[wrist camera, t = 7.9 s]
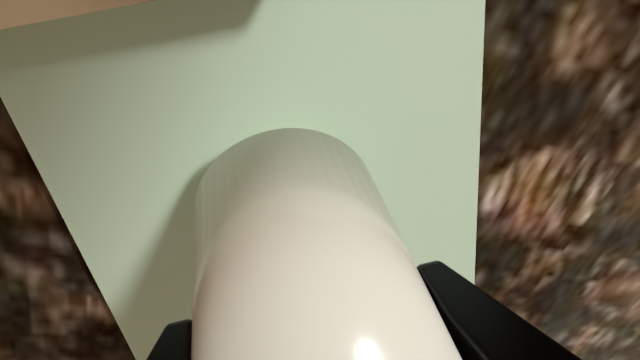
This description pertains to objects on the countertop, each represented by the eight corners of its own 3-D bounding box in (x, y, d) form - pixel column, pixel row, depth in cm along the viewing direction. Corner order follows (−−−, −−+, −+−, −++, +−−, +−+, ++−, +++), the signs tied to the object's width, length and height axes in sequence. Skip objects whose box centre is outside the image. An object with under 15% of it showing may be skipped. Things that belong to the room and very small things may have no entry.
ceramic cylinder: (365, 110, 11) (502, 338, 6) (379, 254, 13) (487, 508, 8) (170, 150, 11) (143, 429, 6) (219, 292, 13) (229, 579, 8)
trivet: (479, -84, 11) (488, -82, 10) (468, 275, 16) (474, 284, 16) (-34, 9, 10) (-42, 15, 10) (140, 354, 15) (139, 365, 15)
